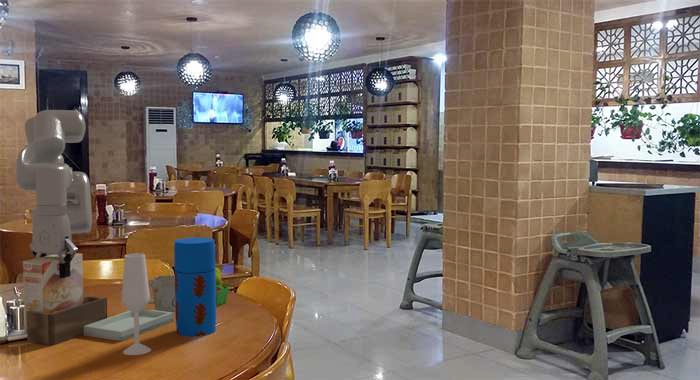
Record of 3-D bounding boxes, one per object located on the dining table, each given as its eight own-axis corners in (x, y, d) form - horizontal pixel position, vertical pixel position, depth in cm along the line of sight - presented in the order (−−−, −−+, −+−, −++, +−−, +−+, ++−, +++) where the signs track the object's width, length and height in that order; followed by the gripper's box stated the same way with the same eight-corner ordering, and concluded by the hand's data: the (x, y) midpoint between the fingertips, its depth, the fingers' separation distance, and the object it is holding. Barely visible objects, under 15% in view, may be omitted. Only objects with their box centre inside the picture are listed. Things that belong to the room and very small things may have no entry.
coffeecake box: (44, 336, 175) (42, 262, 173) (23, 333, 177) (20, 260, 175) (85, 321, 189) (83, 252, 187) (65, 318, 191) (63, 251, 190)
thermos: (180, 338, 176) (179, 244, 174) (171, 328, 186) (170, 239, 184) (221, 333, 181) (220, 241, 179) (210, 323, 191) (209, 236, 189)
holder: (27, 341, 174) (26, 311, 173) (84, 322, 191) (83, 295, 191) (51, 345, 170) (50, 314, 170) (107, 326, 188) (106, 298, 187)
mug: (172, 314, 201) (171, 281, 200) (133, 312, 203) (133, 279, 202) (184, 307, 209) (184, 275, 208) (147, 305, 211) (146, 274, 210)
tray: (83, 335, 179) (83, 326, 179) (137, 316, 199) (137, 307, 198) (121, 341, 174) (121, 331, 174) (173, 321, 193) (173, 312, 193)
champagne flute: (124, 356, 162) (121, 258, 160) (121, 348, 168) (119, 253, 166) (152, 353, 165) (150, 256, 163) (149, 345, 171) (147, 252, 169)
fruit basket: (187, 304, 213) (187, 269, 212) (203, 298, 221) (203, 264, 220) (218, 307, 209) (217, 271, 208) (233, 301, 217) (233, 266, 216)
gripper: (16, 210, 180) (19, 275, 182) (65, 214, 173) (67, 281, 175) (39, 207, 187) (41, 270, 189) (87, 211, 180) (89, 276, 182)
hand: (54, 275), depth 182 cm, fingers closed on coffeecake box, 7 cm apart
